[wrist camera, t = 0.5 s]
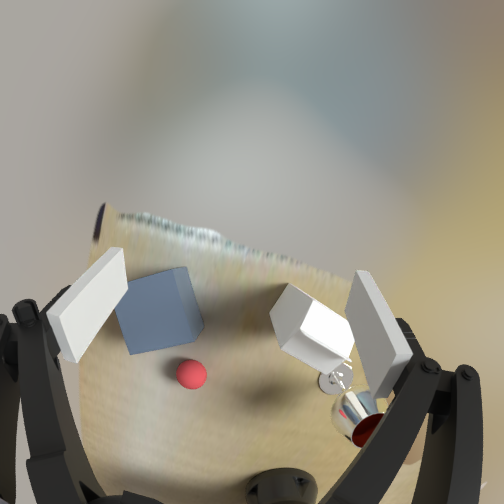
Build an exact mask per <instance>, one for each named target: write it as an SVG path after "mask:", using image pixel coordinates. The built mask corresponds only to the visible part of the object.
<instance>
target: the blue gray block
mask: <svg viewBox="0 0 504 504" xmlns="http://www.w3.org/2000/svg"><path fill="white" fill-rule="evenodd" d="M127 284H128V290H127V291H126V293H125V294H124V295H123V297H122V298H121V300H120V301H119V302H118V304H117V305H116V307H115V308H114V309H115V312H116V315H117V318H118V321H119V325H120V328H121V331H122V334H123V337H124V339H125V342H126V345H127V348H128V351H129V353H130V355H133V354H139V353H144V352H149V351H154V350H159V349H163V348H168V347H173V346H177V345H182V344H186V343H190V342H194V341H195V340H196V338H197V337H198V335H199V334H200V332H201V331H202V329H203V328H204V324H203V321H202V317H201V314H200V311H199V308H198V304H197V301H196V298H195V295H194V291H193V288H192V284H191V281H190V277H189V274H188V270H187V267H181V268H175V269H170V270H167V271H164V272H160V273H157V274H153V275H150V276H146V277H143V278H140V279H136V280H133V281H129V282H127Z"/></svg>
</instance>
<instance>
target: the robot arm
mask: <svg viewBox="0 0 504 504" xmlns="http://www.w3.org/2000/svg"><path fill="white" fill-rule="evenodd" d="M127 290H128V284H127V277H126V270H125V263H124V254H123V248H117V247H111V248H110V249H109V250H108V251H107V252H106V253H104V254H103V255H102V256H101V257H100V258H99V259H98V260H97V261H96V262H95V263H94V264H93V265H92V266H91V267H90V268H89V269H88V270H87V271H86V272H85V273H84V274H83V275H82V276H81V277H80V278H79V279H78V280H77V281H76V282H75V283H74V284H73V285H69V286H67V287H65V288H63V289H62V290H61V291H60V292H59V293H58V294H57V295H56V296H55V297H54V298H53V299H52V301H50V302H49V303H48V304H47V305H46V306H45V307H44V308H43V310H42V311H41V312H40V313H39V310H38V307H37V304H36V301H34V300H32V299H25V300H22V301H20V302H18V303H17V304H15V306H14V307H13V309H12V312H13V315H14V317H15V320H16V322H17V323H9V321H8V318H7V316H6V315H4V314H0V504H15V499H16V475H15V457H16V434H17V421H18V411H19V403H20V396H21V404H22V412H23V418H24V425H25V430H26V435H27V441H28V446H29V450H30V456H31V457H30V459H27V460H26V467H27V472H28V475H29V479H30V482H31V486H32V490H33V493H34V496H35V499H36V502H37V504H163V503H161V502H159V501H157V500H155V499H152V498H149V497H145V496H141V495H138V494H134V493H131V492H128V491H125V490H124V492H123V495H112V496H106V494H105V492H104V491H103V489H102V488H101V486H100V485H99V483H98V482H97V480H96V478H95V476H94V474H93V471H92V469H91V466H90V464H89V462H88V459H87V456H86V454H85V451H84V448H83V446H82V443H81V440H80V437H79V434H78V431H77V428H76V425H75V422H74V419H73V416H72V412H71V409H70V405H69V401H68V397H67V394H66V390H65V386H64V381H63V377H62V372H61V368H60V363H59V359H58V357H57V355H58V354H59V352H60V351H61V353H62V355H63V357H64V359H65V360H67V361H70V362H73V363H76V364H77V363H78V361H79V360H80V358H81V357H82V355H83V354H84V352H85V351H86V349H87V347H88V346H89V344H90V343H91V341H92V340H93V338H94V337H95V335H96V334H97V332H98V331H99V330H100V328H101V327H102V325H103V324H104V322H105V321H106V319H107V318H108V316H109V315H110V314H111V312H112V311H113V309H114V308H115V307H116V305H117V304H118V302H119V301H120V300H121V298H122V297H123V295H124V294H125V293H126V291H127ZM345 314H346V316H347V319H348V322H349V325H350V328H351V331H352V334H353V337H354V340H355V343H356V347H357V350H358V353H359V356H360V359H361V362H362V366H363V369H364V372H365V376H366V379H367V382H368V386H369V389H370V393H371V396H372V399H379V398H388V396H389V394H390V393H391V391H392V390H393V391H394V394H395V397H394V399H393V400H392V402H391V403H390V405H389V406H388V408H387V409H386V412H385V414H384V415H383V417H382V419H381V420H380V422H379V424H378V425H377V427H376V428H375V430H374V431H373V433H372V434H371V436H370V437H369V439H368V440H367V442H366V443H365V445H364V446H363V448H362V449H361V450H360V452H359V453H358V455H357V456H356V457H355V459H354V460H353V461H352V463H351V464H350V465H349V467H348V468H347V469H346V471H345V472H344V473H343V474H342V476H341V477H340V478H339V479H338V481H337V482H336V483H335V484H334V486H333V487H332V488H331V489H330V490H329V491H328V493H327V494H326V495H325V496H324V497H323V498H322V499H321V501H320V502H319V503H318V504H378V503H379V502H380V500H381V499H382V497H383V496H384V494H385V493H386V491H387V490H388V488H389V486H390V485H391V483H392V481H393V480H394V478H395V476H396V475H397V473H398V471H399V469H400V468H401V466H402V464H403V462H404V460H405V458H406V456H407V454H408V452H409V451H410V449H411V447H412V445H413V443H414V441H415V438H416V436H417V434H418V432H419V430H420V428H421V426H422V423H423V421H424V419H425V416H426V414H427V413H429V418H428V425H427V432H426V439H425V446H424V451H423V457H422V462H421V467H420V471H419V476H418V480H417V484H416V488H415V492H414V496H413V500H412V503H411V504H478V502H479V495H480V487H481V476H482V461H483V416H482V399H481V387H480V378H479V375H478V373H477V371H476V370H475V369H474V368H473V367H471V366H469V365H464V364H463V365H460V366H458V368H457V369H456V370H455V372H450V371H445V370H442V369H441V366H440V365H439V364H438V363H437V362H436V361H435V360H433V359H431V358H428V357H426V356H425V354H424V352H423V350H422V348H421V347H420V345H419V343H418V341H417V339H415V338H416V337H415V335H414V334H413V333H412V330H411V328H410V326H409V325H408V324H407V323H406V322H405V321H404V320H403V319H402V318H394V316H393V314H392V312H391V310H390V308H389V306H388V305H387V303H386V301H385V299H384V297H383V296H382V294H381V292H380V290H379V289H378V287H377V285H376V283H375V282H374V280H373V278H372V277H371V275H370V273H369V272H368V271H361V270H356V272H355V276H354V279H353V283H352V287H351V290H350V294H349V297H348V301H347V304H346V307H345ZM317 493H318V488H317V484H316V481H315V479H314V477H313V476H312V475H310V474H309V473H307V472H305V471H303V470H299V469H294V468H280V469H273V470H269V471H266V472H263V473H261V474H259V475H257V476H256V477H254V478H253V479H252V480H251V481H250V482H249V483H248V485H247V487H246V501H247V503H248V504H315V502H316V498H317Z"/></svg>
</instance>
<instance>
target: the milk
mask: <svg viewBox="0 0 504 504" xmlns="http://www.w3.org/2000/svg"><path fill="white" fill-rule="evenodd" d="M269 315H270V318H271V321H272V324H273V327H274V331H275V334H276V337H277V340H278V343H279V346H280V349H281V350H283V351H284V352H286V353H288V354H290V355H291V356H293V357H295V358H297V359H298V360H300V361H302V362H304V363H305V364H307V365H309V366H311V367H312V368H314V369H316V370H318V371H320V372H321V373H323V374H325V375H327V374H329V373H330V372H331V371H332V370H334V369H335V368H336V367H337V366H339V365H340V364H341V363H342V362H344V361H345V360H348V361H349V362H352V361H351V360H350V359H349V354H350V352H351V349H352V346H353V344H354V341H355V340H354V337H353V334H352V331H351V328H350V325H349V322H348V321H347V320H346V319H344V318H343V317H341V316H340V315H338V314H337V313H335V312H334V311H332V310H331V309H329V308H328V307H326V306H325V305H323V304H322V303H320V302H319V301H317V300H316V299H314V298H313V297H311V296H310V295H308V294H306V293H305V292H303V291H302V290H300V289H299V288H297V287H296V286H294V285H292V284H291V283H288V285H287V286H286V288H285V290H284V291H283V293H282V294H281V296H280V297H279V299H278V300H277V302H276V303H275V305H274V306H273V308H272V309H271V311H270V312H269Z"/></svg>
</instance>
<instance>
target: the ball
mask: <svg viewBox="0 0 504 504" xmlns="http://www.w3.org/2000/svg"><path fill="white" fill-rule="evenodd" d="M176 376H177V380H178V382H179V383H180V384H181V385H182V386H183V387H185V388H187V389H197V388H199V387H201V386H202V385H203V384H204V383H205V381H206V378H207V373H206V369H205V367H204V366H203V365H202V364H201V363H200V362H198V361H195V360H186V361H184V362H182V363H181V364H180V365H179V366H178V368H177V372H176Z"/></svg>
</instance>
